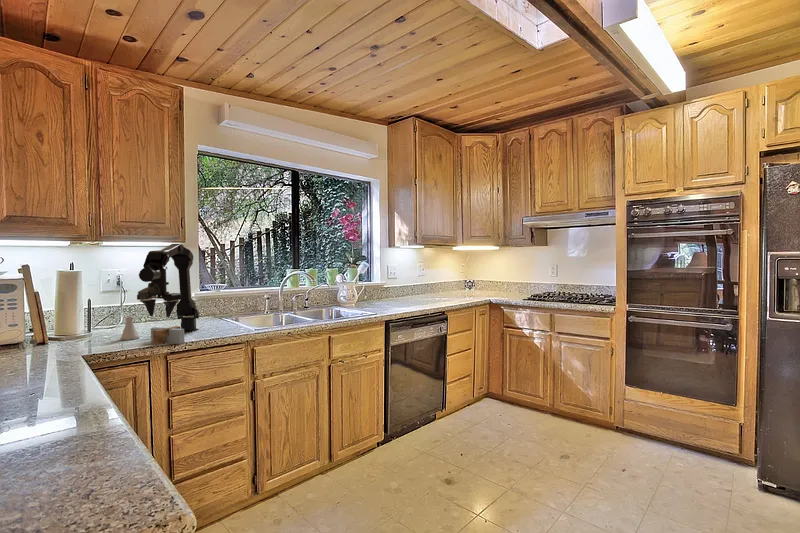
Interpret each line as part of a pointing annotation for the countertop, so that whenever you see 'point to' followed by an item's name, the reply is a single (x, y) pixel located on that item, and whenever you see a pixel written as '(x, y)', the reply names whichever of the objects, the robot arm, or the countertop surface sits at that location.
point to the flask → (129, 330)
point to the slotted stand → (171, 335)
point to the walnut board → (161, 335)
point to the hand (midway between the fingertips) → (159, 316)
